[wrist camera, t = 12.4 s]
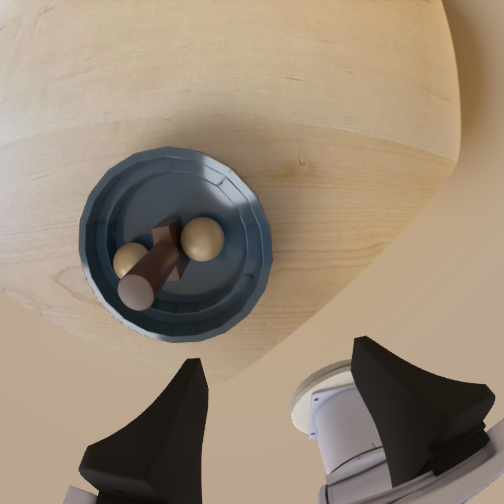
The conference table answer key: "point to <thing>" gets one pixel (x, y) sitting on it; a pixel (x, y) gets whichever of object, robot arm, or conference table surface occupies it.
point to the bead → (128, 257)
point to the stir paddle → (155, 266)
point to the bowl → (187, 207)
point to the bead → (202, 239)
